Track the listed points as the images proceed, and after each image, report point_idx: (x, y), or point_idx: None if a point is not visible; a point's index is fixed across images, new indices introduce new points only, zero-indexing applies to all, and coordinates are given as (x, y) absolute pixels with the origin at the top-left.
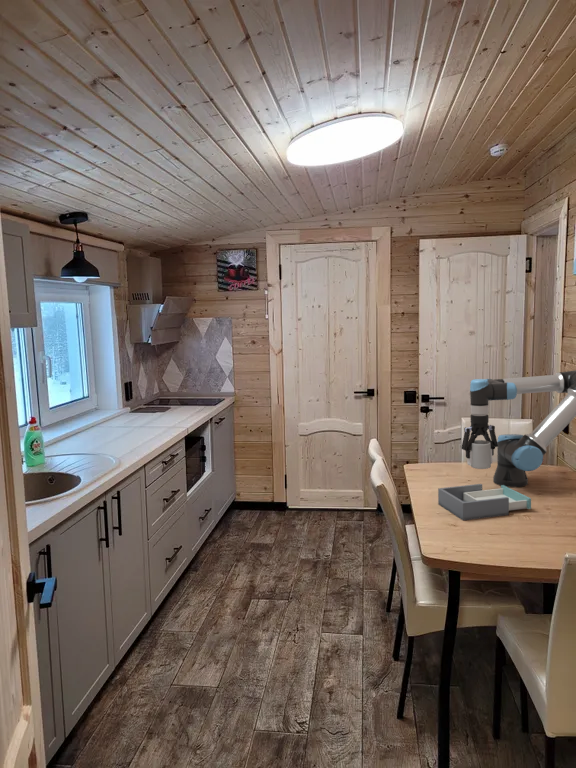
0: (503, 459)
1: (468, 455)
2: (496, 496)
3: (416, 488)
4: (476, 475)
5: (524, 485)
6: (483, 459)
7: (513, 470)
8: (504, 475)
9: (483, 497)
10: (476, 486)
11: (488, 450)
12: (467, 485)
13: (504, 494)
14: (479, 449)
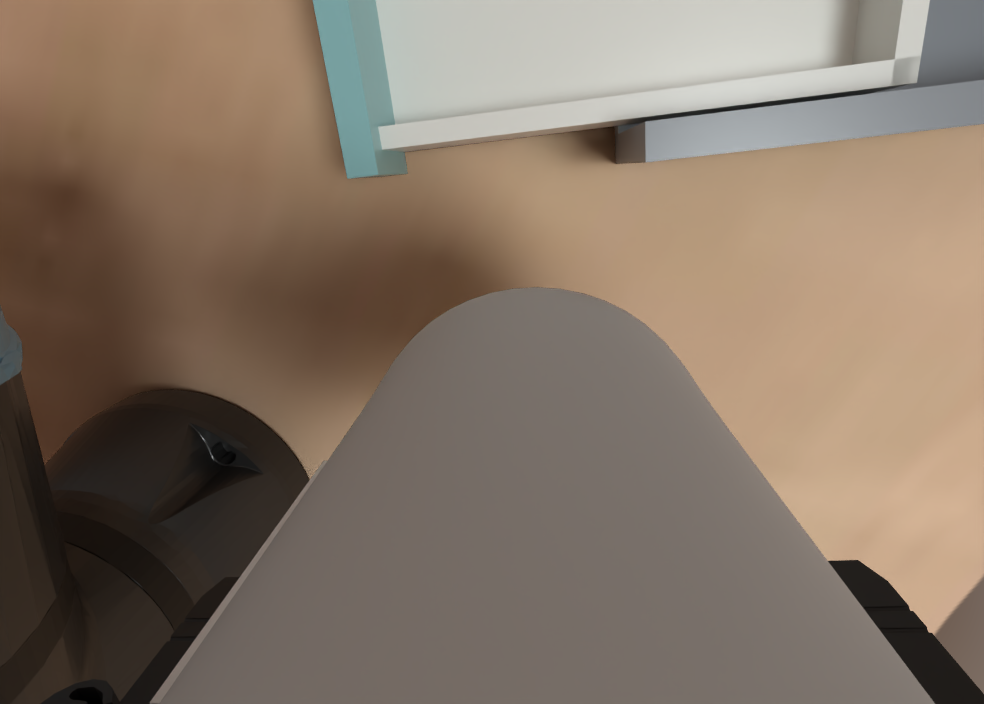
0: (106, 642)
1: (886, 617)
2: (491, 75)
3: (972, 560)
4: None
5: (122, 400)
6: (582, 349)
7: (104, 497)
8: (219, 494)
9: (640, 71)
10: (732, 112)
11: (359, 508)
12: (869, 122)
13: (390, 104)
14: (823, 603)
